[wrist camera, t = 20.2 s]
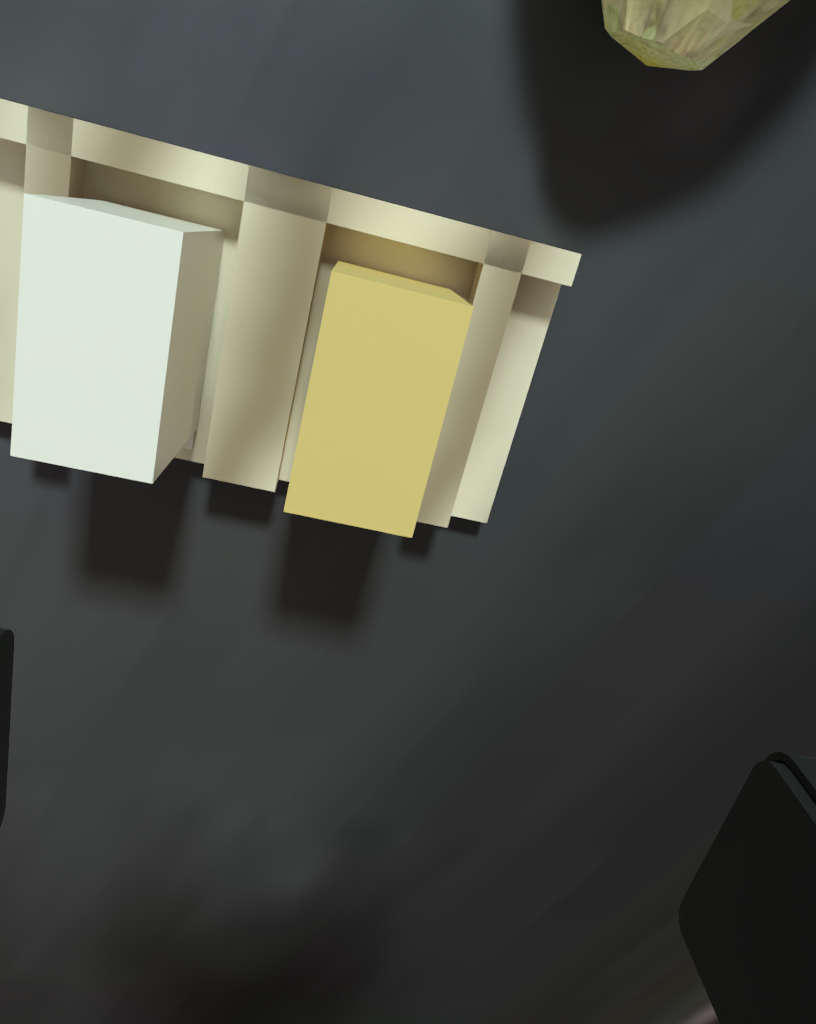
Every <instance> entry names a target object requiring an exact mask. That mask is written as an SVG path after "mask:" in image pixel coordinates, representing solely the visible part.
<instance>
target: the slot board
mask: <svg viewBox="0 0 816 1024" xmlns="http://www.w3.org/2000/svg"><path fill="white" fill-rule="evenodd" d="M24 193H28V194H39V195H50V196H60V197H71V198H82V199H92V200H103V201H108V202H112V203H116V204H120V205H124V206H128V207H132V208H136V209H140V210H144V211H148V212H152V213H156V214H160V215H164V216H168V217H173V218H177V219H181V220H185V221H189V222H193V223H197V224H201V225H205V226H209V227H213V228H217V229H221V230H225V234H224V241H223V248H222V256H221V263H220V270H219V277H218V284H217V291H216V298H215V305H214V312H213V319H212V326H211V333H210V340H209V347H208V354H207V361H206V368H205V376H204V383H203V390H202V397H201V404H200V411H199V418H198V425H197V430H196V431H195V432H194V433H193V435H192V436H191V437H190V438H189V440H188V441H187V442H186V443H185V444H184V446H183V447H182V448H181V449H180V451H179V452H178V453H177V454H176V456H175V457H174V458H179V459H184V460H188V461H193V462H198V463H203V464H204V470H203V477H205V478H210V479H214V480H219V481H224V482H229V483H234V484H238V485H243V486H248V487H253V488H258V489H262V490H267V491H272V492H275V490H276V487H277V484H278V480H283V481H288V482H290V477H291V472H292V467H293V461H294V456H295V451H296V446H297V441H298V436H299V431H300V426H301V421H302V416H303V411H304V406H305V401H306V396H307V391H308V386H309V381H310V376H311V371H312V366H313V361H314V356H315V351H316V346H317V341H318V336H319V331H320V326H321V321H322V316H323V311H324V306H325V301H326V296H327V291H328V286H329V281H330V276H331V271H332V269H333V268H334V267H335V265H336V264H337V262H338V261H343V262H347V263H350V264H354V265H358V266H362V267H366V268H370V269H374V270H378V271H382V272H386V273H390V274H394V275H398V276H402V277H406V278H409V279H413V280H417V281H421V282H425V283H429V284H433V285H437V286H441V287H445V288H449V289H451V290H452V291H453V292H455V293H456V294H457V295H459V296H460V297H461V298H463V299H464V300H465V301H467V302H468V303H470V304H471V305H472V306H474V308H473V312H472V316H471V320H470V323H469V327H468V331H467V335H466V338H465V342H464V346H463V350H462V353H461V357H460V361H459V365H458V368H457V372H456V376H455V379H454V383H453V387H452V391H451V394H450V398H449V402H448V406H447V409H446V413H445V417H444V421H443V424H442V428H441V432H440V435H439V439H438V443H437V447H436V450H435V454H434V458H433V462H432V465H431V469H430V473H429V477H428V480H427V484H426V488H425V491H424V495H423V499H422V503H421V506H420V510H419V514H418V518H417V522H421V523H426V524H431V525H436V526H441V527H445V528H448V524H449V521H450V517H451V516H455V517H459V518H464V519H469V520H474V521H479V522H483V523H487V520H488V517H489V514H490V510H491V507H492V504H493V501H494V498H495V494H496V491H497V488H498V485H499V482H500V478H501V475H502V472H503V469H504V466H505V462H506V459H507V456H508V453H509V450H510V446H511V443H512V440H513V437H514V434H515V430H516V427H517V424H518V421H519V418H520V415H521V411H522V408H523V405H524V402H525V399H526V395H527V392H528V389H529V386H530V383H531V379H532V376H533V373H534V370H535V367H536V363H537V360H538V357H539V354H540V351H541V347H542V344H543V341H544V338H545V335H546V331H547V328H548V325H549V322H550V319H551V315H552V312H553V309H554V306H555V303H556V299H557V296H558V293H559V290H560V287H561V284H563V285H567V286H572V283H573V280H574V276H575V273H576V270H577V267H578V264H579V261H580V258H581V254H578V253H575V252H571V251H567V250H564V249H560V248H556V247H552V246H549V245H545V244H541V243H537V242H534V241H530V240H526V239H522V238H519V237H515V236H511V235H507V234H504V233H500V232H496V231H493V230H489V229H485V228H481V227H478V226H474V225H470V224H466V223H463V222H459V221H455V220H451V219H448V218H444V217H440V216H437V215H433V214H429V213H425V212H422V211H418V210H414V209H410V208H407V207H403V206H399V205H395V204H392V203H388V202H384V201H380V200H377V199H373V198H369V197H366V196H362V195H358V194H354V193H351V192H347V191H343V190H339V189H336V188H332V187H328V186H324V185H321V184H317V183H313V182H310V181H306V180H302V179H298V178H295V177H291V176H287V175H283V174H280V173H276V172H272V171H268V170H265V169H261V168H257V167H254V166H250V165H246V164H242V163H239V162H235V161H231V160H227V159H224V158H220V157H216V156H212V155H209V154H205V153H201V152H197V151H194V150H190V149H186V148H183V147H179V146H175V145H171V144H168V143H164V142H160V141H156V140H153V139H149V138H145V137H141V136H138V135H134V134H130V133H127V132H123V131H119V130H115V129H112V128H108V127H104V126H100V125H97V124H93V123H89V122H85V121H82V120H78V119H74V118H71V117H67V116H63V115H59V114H56V113H52V112H48V111H44V110H41V109H37V108H33V107H29V106H26V105H22V104H18V103H14V102H11V101H7V100H3V99H0V421H3V422H8V423H12V415H13V396H14V377H15V357H16V338H17V319H18V299H19V280H20V261H21V241H22V222H23V202H24Z"/></svg>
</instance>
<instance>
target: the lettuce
mask: <svg viewBox="0 0 816 1024" xmlns="http://www.w3.org/2000/svg"><path fill="white" fill-rule="evenodd" d="M788 1H790V0H602V9H603V17H604V25H605V29H606V31H607V32H608V33H609V35H610V36H611V37H612V38H613V39H614V40H616V41H617V42H618V43H619V44H621V45H622V46H623V47H624V48H626V49H627V50H628V51H629V52H630V53H632V54H633V55H634V56H635V57H637V58H638V59H639V60H640V61H642V62H643V63H644V64H645V65H647V66H653V67H662V68H671V69H680V70H689V71H690V70H703V69H704V68H705V67H707V66H708V65H709V64H710V63H712V62H713V61H714V60H716V59H717V58H718V57H719V56H721V55H722V54H723V53H725V52H726V51H727V50H728V49H730V48H731V47H732V46H734V45H735V44H736V43H737V42H739V41H740V40H741V39H742V38H743V37H744V36H746V35H747V34H748V33H749V32H750V31H751V30H753V29H754V28H755V27H757V26H758V25H759V24H760V23H762V22H763V21H764V20H766V19H767V18H768V17H769V16H771V15H772V14H773V13H775V12H776V11H777V10H778V9H780V8H781V7H782V6H783V5H785V4H786V3H787V2H788Z"/></svg>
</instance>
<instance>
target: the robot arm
mask: <svg viewBox="0 0 816 1024" xmlns="http://www.w3.org/2000/svg"><path fill="white" fill-rule="evenodd" d="M13 654H14V635H13V632H12V631H11V630H9V629H3V628H0V826H1V823H2V820H3V816H4V812H5V805H6V787H7V768H8V749H9V730H10V711H11V692H12V673H13ZM679 924H680V929H681V933H682V936H683V938H684V940H685V943H686V945H687V947H688V950H689V952H690V954H691V957H692V959H693V961H694V964H695V966H696V968H697V971H698V973H699V976H700V978H701V980H702V983H703V985H704V987H705V990H706V992H707V994H708V997H709V999H710V1001H711V1004H712V1006H713V1008H714V1011H715V1013H716V1015H717V1018H718V1020H719V1022H720V1024H816V758H813V757H807V756H802V755H796V754H790V753H785V752H774V753H772V754H771V755H769V756H768V757H767V758H766V759H765V761H760V762H758V763H757V764H756V765H755V766H754V768H753V769H752V771H751V773H750V775H749V777H748V778H747V780H746V782H745V784H744V786H743V788H742V790H741V792H740V793H739V795H738V797H737V799H736V801H735V803H734V805H733V806H732V808H731V810H730V812H729V814H728V816H727V818H726V820H725V821H724V823H723V825H722V827H721V829H720V831H719V833H718V835H717V836H716V838H715V840H714V842H713V844H712V846H711V848H710V849H709V851H708V853H707V855H706V857H705V859H704V861H703V863H702V864H701V866H700V868H699V870H698V872H697V874H696V876H695V878H694V879H693V881H692V883H691V885H690V887H689V889H688V891H687V892H686V894H685V896H684V898H683V900H682V902H681V905H680V910H679Z"/></svg>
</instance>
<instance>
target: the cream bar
mask: <svg viewBox="0 0 816 1024" xmlns="http://www.w3.org/2000/svg"><path fill="white" fill-rule="evenodd" d="M224 234H225V230H221V229H217V228H213V227H209V226H205V225H201V224H197V223H193V222H189V221H185V220H181V219H177V218H173V217H168V216H164V215H160V214H156V213H152V212H148V211H144V210H140V209H136V208H132V207H128V206H124V205H120V204H116V203H112V202H108V201H103V200H92V199H82V198H71V197H60V196H50V195H39V194H28V193H24V202H23V222H22V241H21V261H20V280H19V299H18V319H17V338H16V357H15V377H14V396H13V415H12V435H11V454H10V456H15V457H20V458H25V459H30V460H35V461H40V462H45V463H50V464H55V465H60V466H65V467H70V468H75V469H80V470H85V471H90V472H95V473H100V474H105V475H111V476H116V477H121V478H126V479H131V480H136V481H141V482H146V483H151V484H153V483H154V481H155V480H156V479H157V478H158V476H159V475H160V474H161V473H162V471H163V470H164V469H165V468H166V467H167V465H168V464H169V463H170V462H171V460H172V459H173V458H174V457H175V456H176V454H177V453H178V452H179V451H180V449H181V448H182V447H183V446H184V444H185V443H186V442H187V441H188V440H189V438H190V437H191V436H192V435H193V433H194V432H195V431H196V430H197V425H198V418H199V411H200V404H201V397H202V390H203V383H204V376H205V368H206V361H207V354H208V347H209V340H210V333H211V326H212V319H213V312H214V305H215V298H216V291H217V284H218V277H219V270H220V263H221V256H222V248H223V241H224Z"/></svg>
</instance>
